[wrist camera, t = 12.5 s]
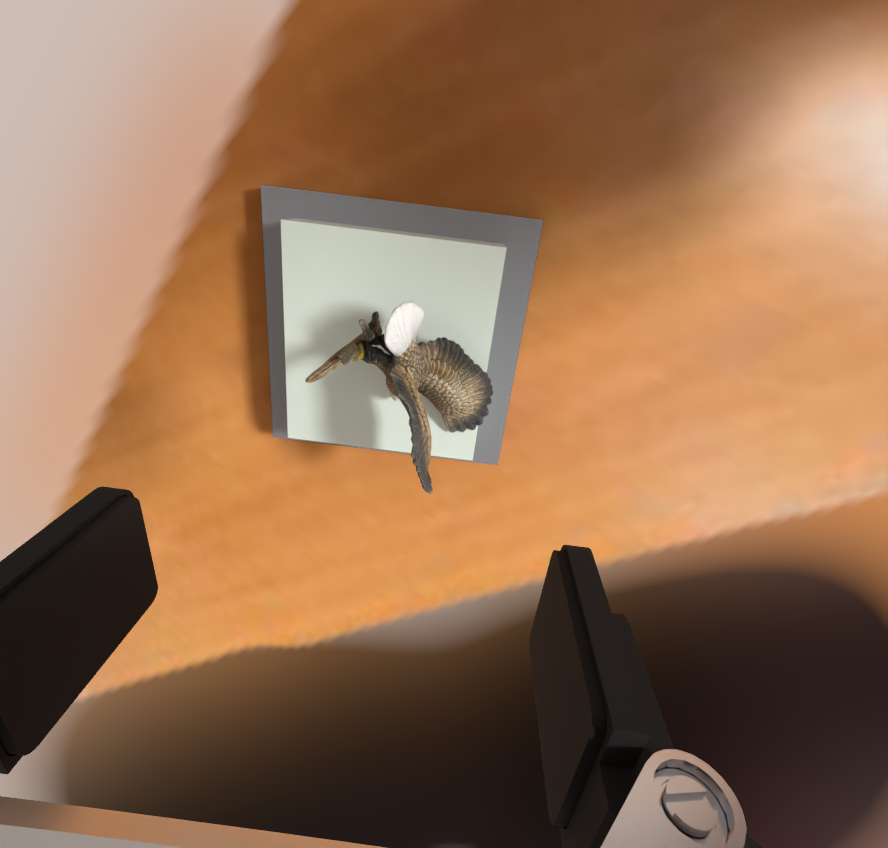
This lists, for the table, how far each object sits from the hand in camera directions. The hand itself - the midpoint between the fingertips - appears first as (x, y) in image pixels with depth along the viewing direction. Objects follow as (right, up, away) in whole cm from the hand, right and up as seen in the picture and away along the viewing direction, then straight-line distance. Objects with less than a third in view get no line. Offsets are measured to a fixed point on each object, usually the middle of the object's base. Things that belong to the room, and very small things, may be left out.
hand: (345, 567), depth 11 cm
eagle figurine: (+1, +6, +18) cm, 19 cm away
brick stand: (-1, +10, +21) cm, 23 cm away
